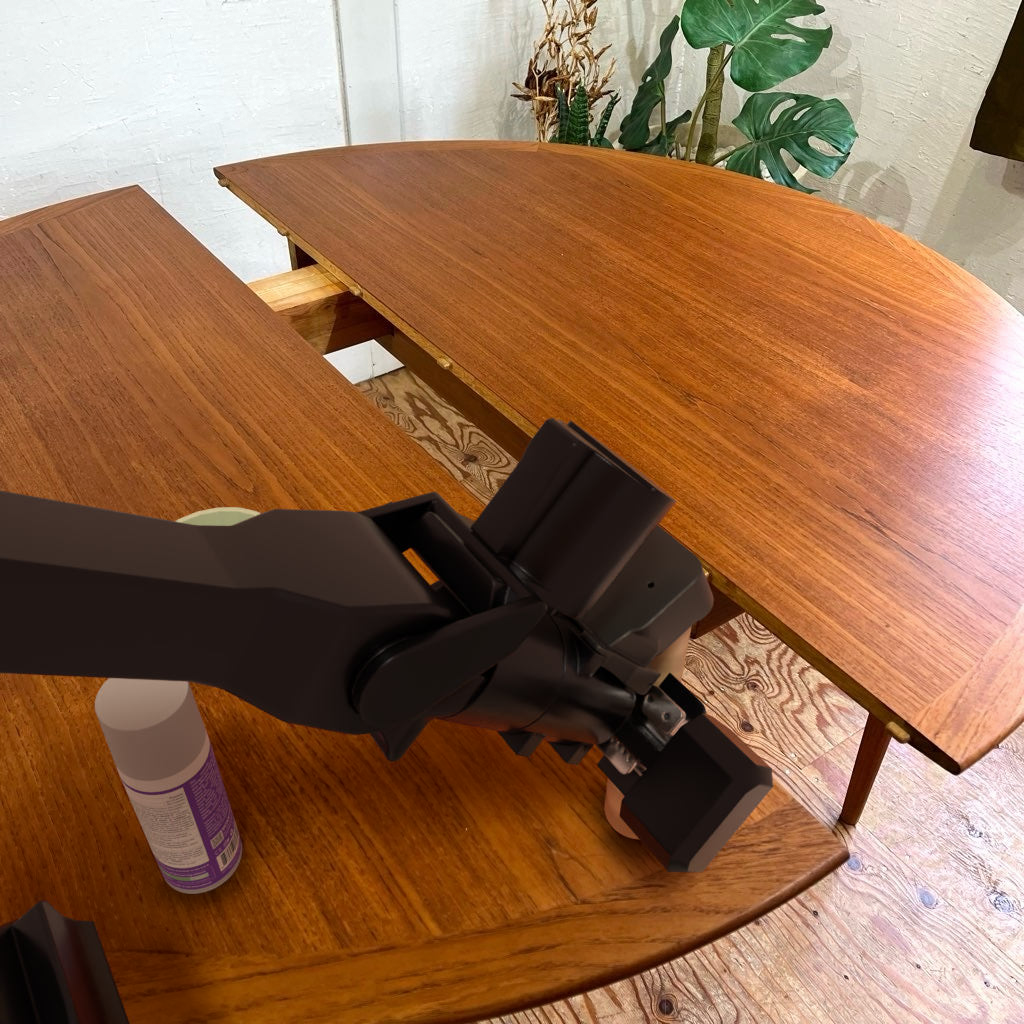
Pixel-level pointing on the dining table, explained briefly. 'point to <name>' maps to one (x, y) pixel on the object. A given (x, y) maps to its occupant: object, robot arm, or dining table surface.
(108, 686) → the container
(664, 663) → the pestle
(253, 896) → the dining table surface
